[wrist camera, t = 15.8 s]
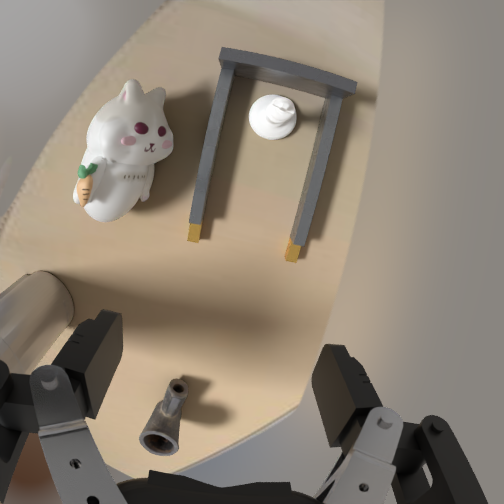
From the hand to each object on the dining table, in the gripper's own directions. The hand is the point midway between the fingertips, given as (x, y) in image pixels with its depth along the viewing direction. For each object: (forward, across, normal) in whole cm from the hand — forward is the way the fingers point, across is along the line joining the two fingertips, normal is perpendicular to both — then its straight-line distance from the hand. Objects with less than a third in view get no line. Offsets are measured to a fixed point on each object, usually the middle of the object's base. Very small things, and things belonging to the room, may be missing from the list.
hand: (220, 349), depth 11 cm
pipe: (+24, +5, +31) cm, 39 cm away
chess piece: (+23, -2, -11) cm, 26 cm away
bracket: (+23, -2, -7) cm, 24 cm away
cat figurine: (+24, +12, -5) cm, 27 cm away
